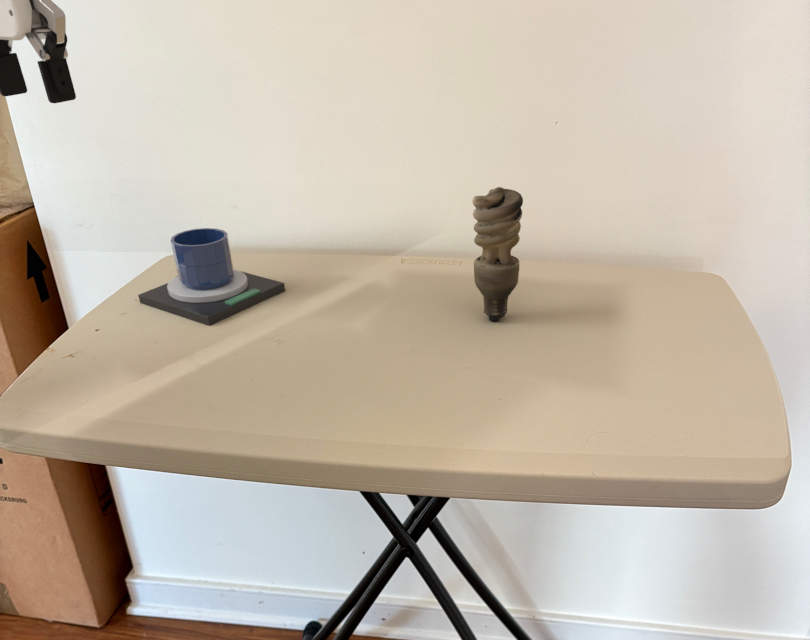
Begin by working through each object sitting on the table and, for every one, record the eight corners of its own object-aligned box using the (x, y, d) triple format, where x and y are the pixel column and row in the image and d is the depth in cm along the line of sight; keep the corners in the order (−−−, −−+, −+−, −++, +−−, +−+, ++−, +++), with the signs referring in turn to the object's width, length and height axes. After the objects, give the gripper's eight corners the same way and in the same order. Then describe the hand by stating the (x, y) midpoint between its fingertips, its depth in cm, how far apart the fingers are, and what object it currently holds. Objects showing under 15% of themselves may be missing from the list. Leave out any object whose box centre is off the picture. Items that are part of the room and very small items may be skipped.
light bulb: (466, 326, 91) (469, 193, 81) (473, 308, 95) (476, 180, 85) (513, 329, 90) (521, 195, 80) (518, 311, 94) (527, 181, 84)
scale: (211, 336, 91) (206, 310, 89) (142, 313, 97) (136, 288, 95) (286, 301, 99) (283, 276, 97) (218, 281, 105) (214, 258, 103)
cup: (205, 295, 92) (196, 249, 89) (169, 284, 96) (159, 239, 92) (246, 278, 96) (238, 233, 93) (209, 268, 100) (201, 224, 96)
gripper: (-97, -92, 78) (-32, 97, 89) (-7, -99, 70) (53, 110, 81) (-29, -93, 83) (25, 87, 94) (64, -100, 75) (111, 98, 86)
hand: (38, 97), depth 87 cm, fingers open, 9 cm apart
